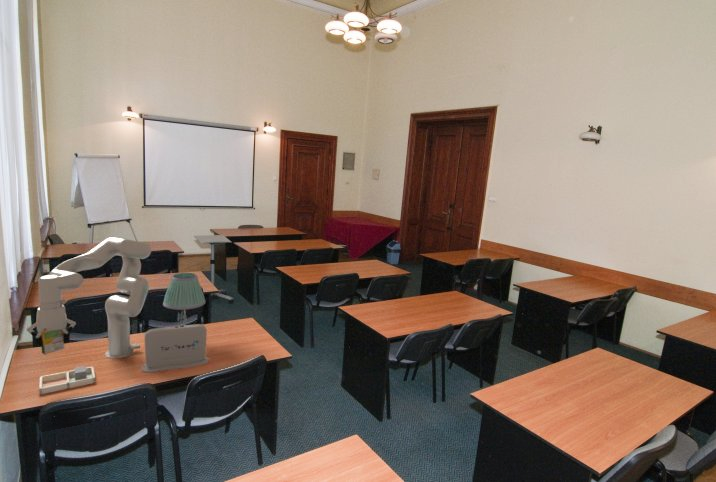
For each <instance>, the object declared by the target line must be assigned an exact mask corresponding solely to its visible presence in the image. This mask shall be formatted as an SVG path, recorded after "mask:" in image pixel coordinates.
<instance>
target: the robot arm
mask: <svg viewBox="0 0 716 482" xmlns="http://www.w3.org/2000/svg"><path fill="white" fill-rule="evenodd" d="M151 253H152V247H151V245H150V244H149V243H147V242H145V241H137V240H132V239H128V238H121V237H115V236H113V237H107V238H105V239H104V240H103V241H101V242H100V243H99V244H97V245H96V246H94V247H93V248H92V249H90V250H89V251H88V252H86V253H84V254H81V255H77V256H76V257H73V258H70V259H67V260H65V261H63V262H61V263H59V264H58V265H57V266H56V267H54V268H53V269H52V270H51V271H50V272H49V273H48V274H46V275H42V276H40V277H38V282H37V283H38V300H39V301H38V302H39V307H37V310H36V319H35V320H36V321H35V322H34V323H33V324H31V325H29V326H28V327H27V328H26V331H27V333H29V334H30V335H32V336H33V337H35V338H36V345H38V346H39V348H42V345H41V334H42V332H44V330H43V329H44V328H46V329H47V330H48V331H55V330H62V331H63V334H64V344H66V343H67V341H68V338H69V337H68V336H69V335H68V334H69V332H70V331H72V330H73V328H74V327H75V326H76V324H77V323H76V321H73V320H72V319H69V318H67V310H66V307H65V304H67V300H66V299H63V293H62V292H64V291H73V290H76V289H79V288H80V287H81V286H82V285H83V284H84V277H83V275H82V274H80V273H78V272H82V271H90V270H93V269H94V270H95V269H98V268H101V267H102V266H104V265H105V264H106V263H107V262H108V261H110V260H112V258H114V257H116V256H119V257H121V259H122V267H121V270H120V273H119V276H118V277H117V280H116V283H115V288H116V291H117V292H119V293H122V294H127V295H129V296H126V295H120V294H113V295H111V296H109V297H108V298H107V299H106V300H105V304H104V309H105V313H106V316H107V317H106V318H107V336H108V338H107V339H108V340H107V343H108V344H107V346H108V348H107V349H108V350H107V351H106V352H105V353H104V356H105V357H106V358H107V359H122V358H125V357H128V358H129V357H131V355H133V354H134V350H137V349H141V344H138V343H133V344H132V343H131V341H130V340H131V337H130V335H131V334H130V333H131V332H130V331H131V330H130V325H131V323H130V318H135V317H137V316H138V315H139V314H140V313H141V311H142V309H143V307H144V305H145V301H146V299H147V296H148V292H149V288H150V283H149V281H148V279H147V278H145V277H143V276H142V277H141V276H140V273H141V269H142V263H141V260H145V259H146V258H148V257H150V255H151ZM68 324H70V325H69V326H68V327H67V325H68ZM35 328H36V331H35V330H33V329H35Z"/></svg>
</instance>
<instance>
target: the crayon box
mask: <svg viewBox="0 0 716 482" xmlns="http://www.w3.org/2000/svg"><path fill="white" fill-rule="evenodd" d="M43 330H44V332H42V334H41V354H43V355H49V354H51V353H54V352H58V351H63V350H65V343H64V334H63V333H64V332H63V331H62V330H55V331H48V330H47V329H46V328H44V329H43Z"/></svg>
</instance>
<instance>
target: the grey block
mask: <svg viewBox="0 0 716 482" xmlns="http://www.w3.org/2000/svg"><path fill="white" fill-rule="evenodd" d="M86 368H87V367H86V365H81V366H75V367H74V370H75V381H76V380H81V379H86Z"/></svg>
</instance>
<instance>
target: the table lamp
mask: <svg viewBox="0 0 716 482" xmlns="http://www.w3.org/2000/svg"><path fill="white" fill-rule="evenodd" d="M166 289H167V290H166V291H165V295H164V298H163V302H162V306H163V307H165V308H166V309H170V310H180V311H181V312H178V313H177V322H179V321H180V323H181V324H182V321H183V324H182V326H184V325H187V321H188V319H187V318H188V317H187V315H186V312H187V311H186V310H191V309H197V308H200V307H203V306H205V304H206V302H207V301H206V299H205V295H204V292H203V290H202V287H201V284H200V282H199V278H198V275H197V274H196V273H190V272H181V273H180V272H179V273H175V274H173V275H172V277H171V279H170V282H169V284H168V287H167V288H166Z"/></svg>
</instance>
